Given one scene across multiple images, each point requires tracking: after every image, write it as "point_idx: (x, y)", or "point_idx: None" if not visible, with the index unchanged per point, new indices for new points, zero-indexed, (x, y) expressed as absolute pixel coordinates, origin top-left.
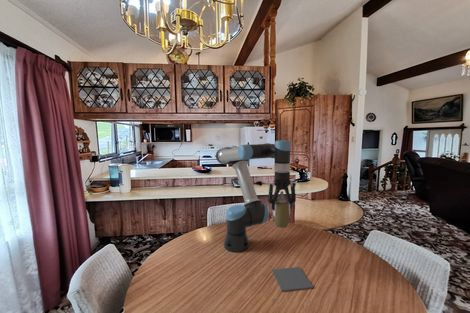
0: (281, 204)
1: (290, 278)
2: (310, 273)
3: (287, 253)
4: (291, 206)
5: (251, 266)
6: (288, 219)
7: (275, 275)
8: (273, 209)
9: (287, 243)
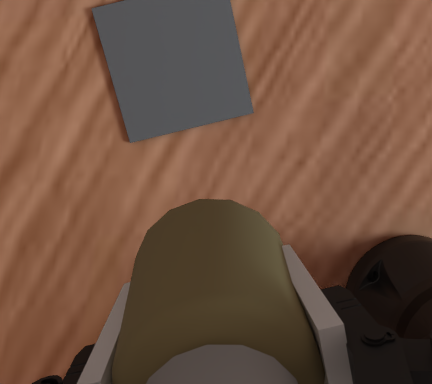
0: (236, 317)
1: (180, 56)
2: (88, 108)
3: None
4: (71, 372)
5: (341, 135)
6: (147, 235)
7: (243, 71)
8: (333, 292)
9: None
